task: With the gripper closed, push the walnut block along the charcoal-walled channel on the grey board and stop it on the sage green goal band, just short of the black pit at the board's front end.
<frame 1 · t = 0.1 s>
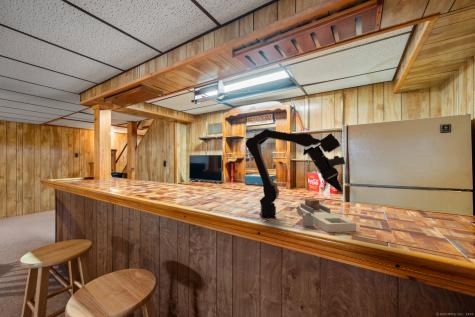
hand: (339, 189, 87), 15 cm above the countertop, tool tilted 35°, fingers open, 9 cm apart
lighter: (304, 225, 86), on the countertop
deck: (322, 220, 92), on the countertop
block: (312, 208, 102), point 3 cm above the countertop, touching deck
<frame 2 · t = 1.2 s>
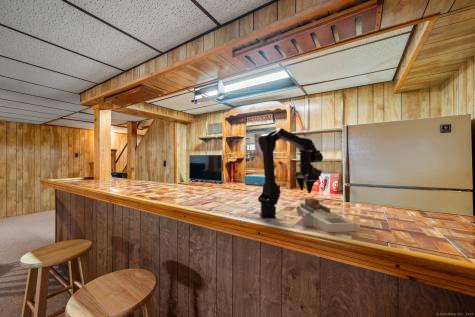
hand: (305, 191, 109), 10 cm above the countertop, tool pointing down, fingers open, 9 cm apart
nothing on the countertop moved.
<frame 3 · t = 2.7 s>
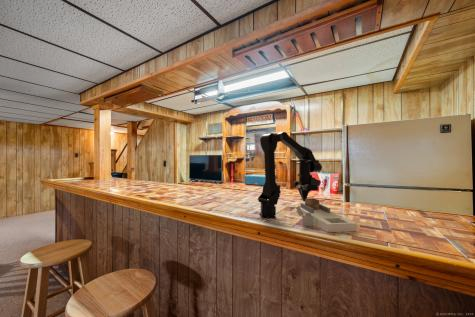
hand: (304, 201, 110), 5 cm above the countertop, tool pointing down, fingers closed
nothing on the countertop moved.
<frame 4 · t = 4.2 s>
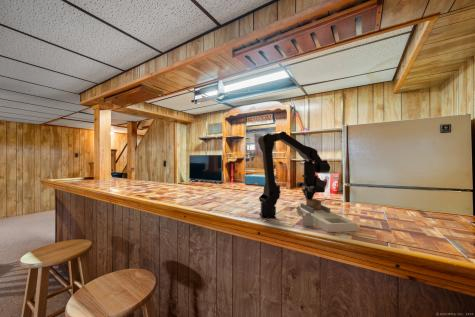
hand: (309, 203, 104), 5 cm above the countertop, tool pointing down, fingers closed
block: (313, 209, 100), point 3 cm above the countertop, touching deck, gripper
everything else where it was.
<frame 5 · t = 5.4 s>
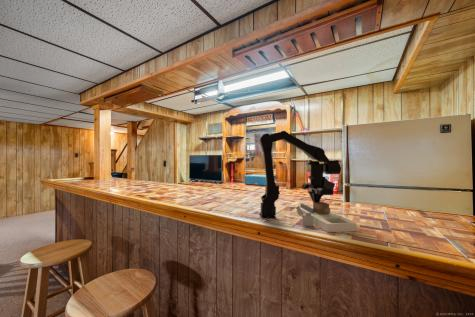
hand: (316, 206, 97), 5 cm above the countertop, tool pointing down, fingers closed
block: (320, 212, 93), point 3 cm above the countertop, touching gripper
everything else where it was.
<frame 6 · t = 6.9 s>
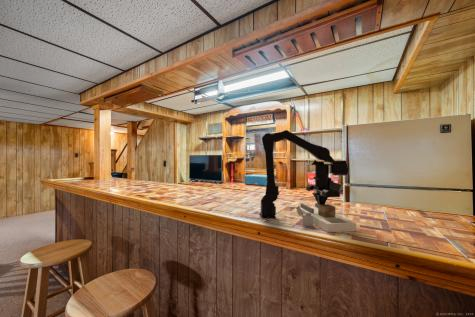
hand: (321, 209, 93), 5 cm above the countertop, tool pointing down, fingers closed
block: (326, 215, 89), point 3 cm above the countertop, touching deck, gripper
everything else where it was.
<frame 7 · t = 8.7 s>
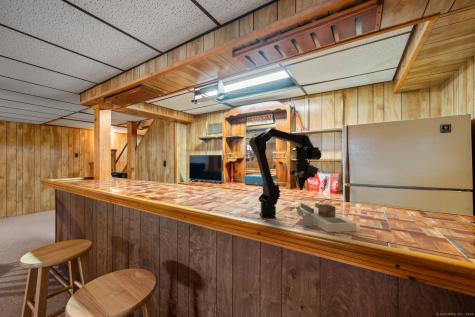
hand: (301, 190, 105), 12 cm above the countertop, tool pointing down, fingers closed
block: (326, 215, 89), point 3 cm above the countertop, touching deck
everything else where it was.
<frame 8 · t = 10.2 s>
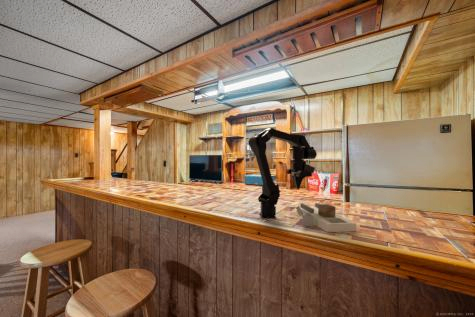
hand: (298, 189, 106), 12 cm above the countertop, tool pointing down, fingers closed
nothing on the countertop moved.
at the end: block 0.2 cm from the target spot, point 3.0 cm above the countertop; block tilted 0° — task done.
